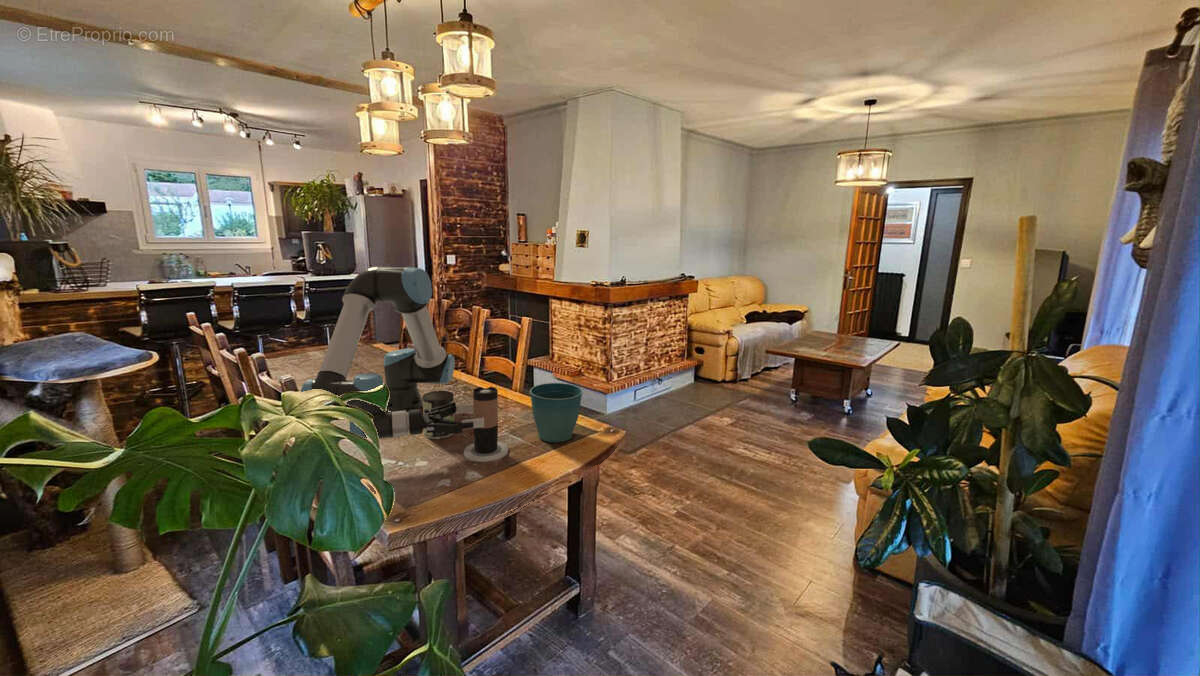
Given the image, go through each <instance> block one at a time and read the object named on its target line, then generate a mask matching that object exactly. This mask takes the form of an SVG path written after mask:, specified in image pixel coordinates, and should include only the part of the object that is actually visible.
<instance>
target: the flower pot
mask: <svg viewBox="0 0 1200 676" xmlns="http://www.w3.org/2000/svg"><path fill="white" fill-rule="evenodd" d="M529 395H530V400H531V411H532V416H533V417H532V418H533V421H534V423H535V427H536V429H537V434H538V438H539V439H541V440H542V441H545V442H547V443H563V442H567V441H569V440H570V439H572V438H573V435H574V434H573V433H574V429H575V427H576V424H577V422H578V420H579V416H580V415H579V414H580V409H581V401H582V395H583V389H582V388H581V387H579V386H577V385H575V384H571V383H564V382H547V383H541V384H537V385H534V386H533V387H531V388H530V390H529Z"/></svg>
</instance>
